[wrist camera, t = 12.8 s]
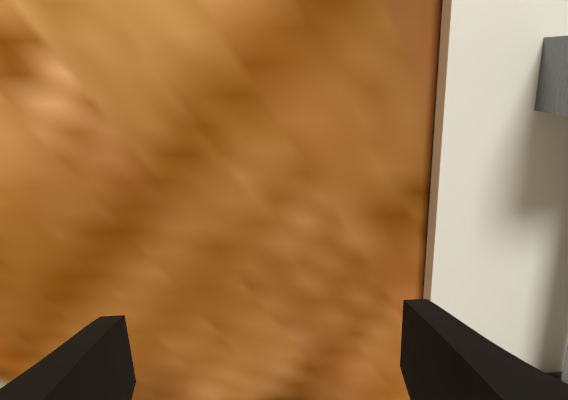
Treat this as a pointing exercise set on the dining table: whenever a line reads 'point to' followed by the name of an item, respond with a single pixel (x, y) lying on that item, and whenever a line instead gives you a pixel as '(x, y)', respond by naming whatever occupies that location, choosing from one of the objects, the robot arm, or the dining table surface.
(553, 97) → the eye block
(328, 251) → the dining table surface
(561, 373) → the upright post with base
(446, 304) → the board
